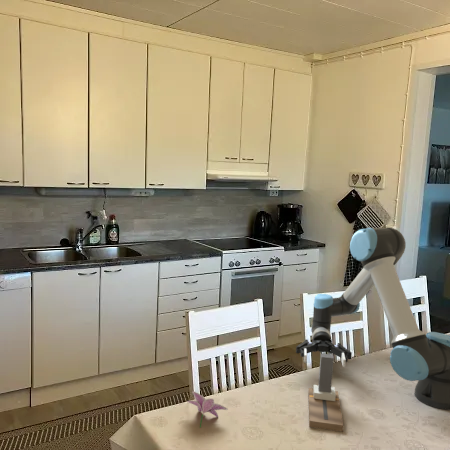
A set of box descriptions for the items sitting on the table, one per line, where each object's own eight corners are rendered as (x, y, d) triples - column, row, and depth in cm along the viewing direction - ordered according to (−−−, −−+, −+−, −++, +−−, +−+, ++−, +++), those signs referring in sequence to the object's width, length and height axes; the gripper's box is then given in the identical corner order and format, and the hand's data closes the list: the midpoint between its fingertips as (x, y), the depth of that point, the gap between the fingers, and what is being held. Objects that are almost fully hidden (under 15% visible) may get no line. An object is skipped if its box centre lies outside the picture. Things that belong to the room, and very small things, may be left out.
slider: (313, 390, 160) (316, 351, 159) (333, 392, 159) (337, 353, 157) (313, 398, 154) (316, 358, 153) (335, 401, 153) (338, 360, 152)
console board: (308, 393, 163) (308, 387, 162) (337, 396, 161) (337, 391, 161) (309, 426, 141) (309, 420, 141) (342, 431, 140) (343, 425, 139)
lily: (230, 430, 139) (233, 396, 142) (202, 427, 131) (206, 392, 135) (203, 426, 147) (207, 394, 151) (174, 423, 139) (179, 390, 143)
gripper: (353, 352, 184) (359, 375, 164) (289, 345, 188) (288, 367, 167) (354, 334, 184) (361, 354, 163) (291, 327, 187) (290, 347, 166)
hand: (324, 361), depth 165 cm, fingers open, 13 cm apart
